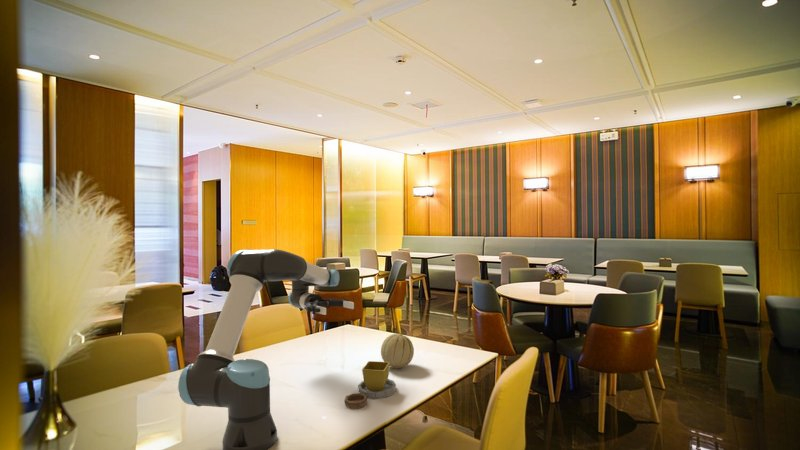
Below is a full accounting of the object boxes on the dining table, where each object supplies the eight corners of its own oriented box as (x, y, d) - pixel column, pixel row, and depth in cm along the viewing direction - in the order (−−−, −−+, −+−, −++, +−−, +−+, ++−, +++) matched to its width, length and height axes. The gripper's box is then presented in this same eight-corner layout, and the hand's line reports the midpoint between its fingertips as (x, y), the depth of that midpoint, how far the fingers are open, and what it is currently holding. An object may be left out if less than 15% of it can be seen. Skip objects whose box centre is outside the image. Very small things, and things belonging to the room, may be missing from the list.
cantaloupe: (377, 372, 170) (376, 337, 170) (386, 360, 185) (385, 328, 185) (410, 374, 167) (409, 338, 167) (417, 362, 181) (416, 329, 181)
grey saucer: (375, 402, 142) (374, 396, 142) (351, 391, 152) (351, 385, 152) (402, 389, 151) (402, 384, 151) (378, 380, 162) (378, 375, 162)
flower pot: (384, 394, 146) (384, 370, 146) (362, 393, 148) (361, 369, 148) (390, 385, 155) (389, 362, 155) (369, 383, 157) (368, 361, 157)
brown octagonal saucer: (353, 410, 135) (353, 404, 135) (340, 404, 141) (340, 398, 141) (371, 403, 141) (370, 397, 141) (357, 397, 146) (357, 391, 146)
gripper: (335, 305, 184) (364, 312, 169) (286, 315, 167) (313, 323, 152) (334, 289, 184) (363, 294, 169) (285, 297, 167) (312, 304, 152)
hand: (339, 308), depth 160 cm, fingers open, 13 cm apart
